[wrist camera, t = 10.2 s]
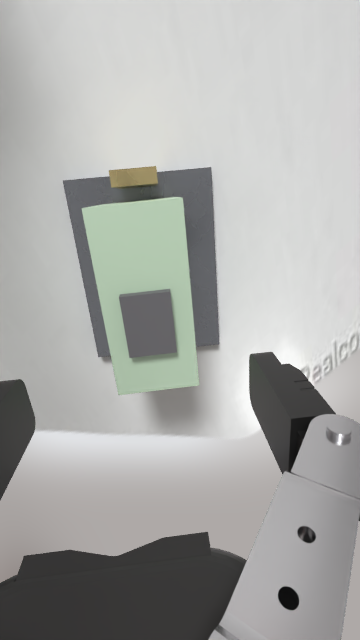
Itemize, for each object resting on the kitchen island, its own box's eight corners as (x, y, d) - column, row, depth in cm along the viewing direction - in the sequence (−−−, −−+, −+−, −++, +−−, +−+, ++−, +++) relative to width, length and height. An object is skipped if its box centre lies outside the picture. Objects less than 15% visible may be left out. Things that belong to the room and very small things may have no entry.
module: (101, 204, 24) (79, 208, 17) (175, 196, 24) (183, 197, 17) (127, 348, 28) (117, 400, 21) (189, 341, 28) (200, 390, 21)
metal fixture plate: (66, 181, 27) (37, 176, 20) (209, 168, 27) (226, 159, 21) (100, 352, 33) (86, 391, 26) (217, 339, 33) (232, 375, 26)
